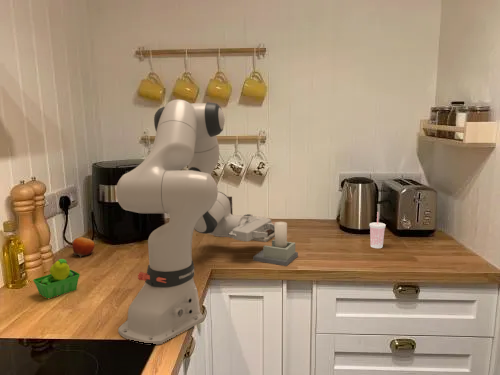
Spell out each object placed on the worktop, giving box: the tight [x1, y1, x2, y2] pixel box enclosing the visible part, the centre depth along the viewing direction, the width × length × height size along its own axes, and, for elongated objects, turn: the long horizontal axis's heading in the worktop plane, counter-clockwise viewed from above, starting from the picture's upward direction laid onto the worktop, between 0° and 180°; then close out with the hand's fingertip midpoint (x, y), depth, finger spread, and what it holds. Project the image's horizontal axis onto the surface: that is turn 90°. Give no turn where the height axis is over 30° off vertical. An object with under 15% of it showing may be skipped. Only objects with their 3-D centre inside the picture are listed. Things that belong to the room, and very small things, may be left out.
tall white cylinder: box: [274, 221, 288, 248], centre depth 152 cm, size 4×4×12 cm
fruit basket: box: [32, 258, 81, 299], centre depth 127 cm, size 11×9×11 cm
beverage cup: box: [368, 211, 387, 249], centre depth 165 cm, size 6×6×14 cm
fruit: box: [71, 236, 95, 259], centre depth 161 cm, size 8×8×8 cm
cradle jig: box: [252, 239, 299, 267], centre depth 154 cm, size 11×13×6 cm
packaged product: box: [251, 221, 276, 243], centre depth 183 cm, size 18×5×10 cm
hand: (272, 231), depth 153 cm, fingers open, 8 cm apart
